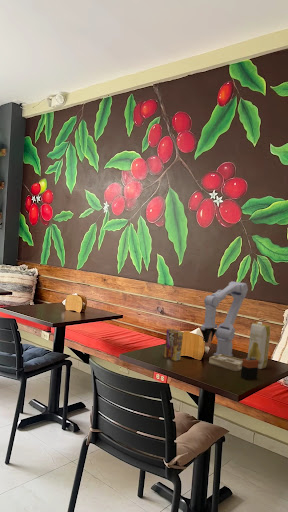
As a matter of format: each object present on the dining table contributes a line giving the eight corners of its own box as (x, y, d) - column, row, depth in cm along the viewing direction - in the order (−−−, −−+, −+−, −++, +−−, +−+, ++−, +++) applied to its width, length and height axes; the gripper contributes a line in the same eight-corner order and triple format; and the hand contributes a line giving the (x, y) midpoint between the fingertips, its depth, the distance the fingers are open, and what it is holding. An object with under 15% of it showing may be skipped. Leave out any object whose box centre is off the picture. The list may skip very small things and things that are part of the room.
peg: (206, 344, 235) (207, 330, 235) (211, 346, 233) (213, 331, 232) (202, 345, 232) (204, 331, 232) (208, 347, 230) (209, 332, 230)
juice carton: (245, 365, 225) (249, 320, 225) (252, 363, 231) (256, 320, 231) (261, 370, 219) (265, 324, 218) (268, 367, 225) (272, 323, 224)
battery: (257, 379, 202) (259, 358, 202) (246, 380, 199) (248, 359, 198) (250, 376, 206) (252, 356, 205) (240, 377, 202) (242, 356, 202)
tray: (221, 360, 232) (221, 353, 231) (247, 367, 221) (248, 360, 221) (208, 363, 222) (209, 357, 221) (236, 371, 211) (237, 364, 211)
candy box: (181, 360, 223) (183, 331, 223) (175, 361, 220) (177, 332, 220) (169, 356, 230) (172, 328, 230) (163, 356, 227) (166, 328, 227)
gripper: (210, 315, 240) (208, 338, 240) (196, 316, 229) (194, 341, 229) (221, 317, 236) (219, 341, 236) (208, 319, 224) (205, 344, 225)
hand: (207, 341), depth 232 cm, fingers closed on peg, 4 cm apart
